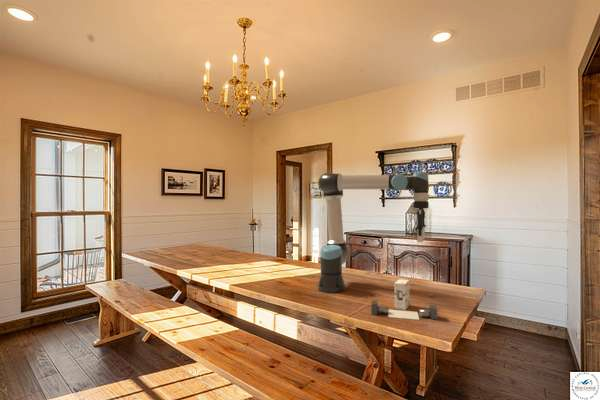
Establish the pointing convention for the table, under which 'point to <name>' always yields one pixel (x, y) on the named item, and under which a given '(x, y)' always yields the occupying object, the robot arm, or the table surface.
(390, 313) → the pad
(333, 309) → the table surface
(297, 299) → the table surface
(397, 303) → the ink box
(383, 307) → the shaft stub
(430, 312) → the shaft stub
